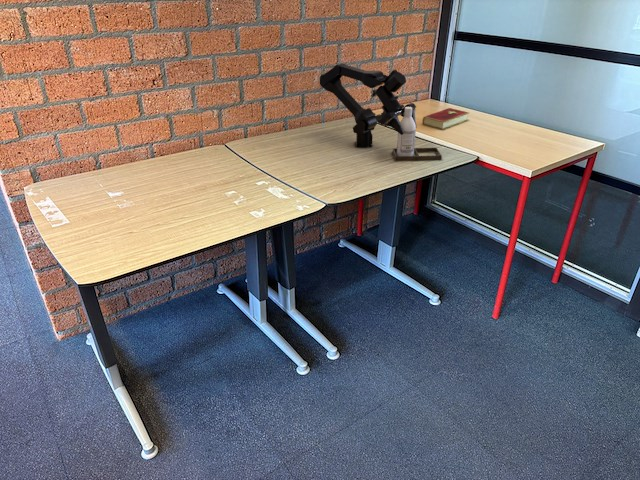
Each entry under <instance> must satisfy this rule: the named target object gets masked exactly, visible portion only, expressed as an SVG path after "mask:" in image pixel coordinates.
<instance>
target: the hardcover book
mask: <svg viewBox="0 0 640 480" xmlns="http://www.w3.org/2000/svg"><path fill="white" fill-rule="evenodd" d="M469 114H470V112H469V111H465V110H460V109H456V108H452V107H448V108H445V109H442V110H440V111H437V112H433V113H430V114H427V115H425V116H424V115H423V117H422V125H423V126H426V127H430V128H434V129H437V130H438V129H439V130H440V131H441V130H442V131H443V130H447V129H450V128H452V127H455V126H457V125H460V124H463V123H466V122H468V121H469V119H468V117H469Z"/></svg>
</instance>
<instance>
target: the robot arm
mask: <svg viewBox="0 0 640 480" xmlns="http://www.w3.org/2000/svg"><path fill="white" fill-rule="evenodd" d="M343 77H346V78H349V79H352V80H355V81H359V82H361V83H362V85H364V86H365V87H367V88H369V89H373V90H372V94H371V97H372V98H375V97H377V98H378V99H379V101H380V102H381V104H382V106H381V110H382V112H381V113H380V114H376V113H375V112H373V110H372V109H371V108H370V107H368V108H363V107H362V106H361V105H360V104H359V102H358V101H357V100H356V99H355V98H354V97H353V95H351V93H350V92H349V91H347V89H346V88H345V87H344V86H343V85H342V80H341V78H343ZM406 83H407V78H406V76H405V75H404V74H403V73H401V72H400V71H398V70H397V69H393V70H391V72H390V74H388V75H386V74H384V72H382V71H381V70H365V69H361V68H358V67H355V66H351V65H348V64H346V63H343V62H342V63H339V64H335V66H332V68H331V69H330V70H328V71H326V72H325V73H323V74H321V75H320V76H319V86H320V87H321V88H323V89H324V90H325V91H327V92H328V93H331V94H333V95H334V96H335V97H336V98H337V99H338V100H339V101H340V102H341V103H342V105H344V107H345V108H346V109H347V110H348V111H349V112H350V113H351V114H352V116H353V118H354V122H355V125H354V126H352V131H353V133H354V134H356V135H355V146H356V148H371V147H372V146H373V137H374V136H373V133H372V131H374V130H375V127H376V126H377V124H379V125H380V126H382V127H383V126H384V127H390V128H392V129H393V130H394V131H396V132H397V134H398V133H400V134H401V135H403V134H404V132H403V129H402V127H401V124H400V122H401V120H400V119H399V116H401V117H402V119H403V118H404V112H405V107H412V118H413V120H414V122H415V125H416V129H417V121H416V108H417V106H416V104H415V103H414V102H410V103H407V104H405V105H404V104H401V103H400V102H399V100H398V99H399V96H398V95H395V94H394V93H397V92H398V91H399V90H400V89H401V88H402V87H403V86H404V85H405V84H406ZM374 88H375V89H374Z"/></svg>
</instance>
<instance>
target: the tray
mask: <svg viewBox="0 0 640 480" xmlns="http://www.w3.org/2000/svg"><path fill="white" fill-rule="evenodd" d="M419 153H435V154H436V155H420V154H419ZM392 155H393V157H394V160H395V162H406V161H407V162H408V161H409V162H411V161H412V162H413V161H415V162H416V161H441V160H442V157H443V156H442V154H441V152H440V151H439V149H438V147H414V155H413V156H397V148H392Z"/></svg>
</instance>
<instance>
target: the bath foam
mask: <svg viewBox="0 0 640 480" xmlns="http://www.w3.org/2000/svg"><path fill="white" fill-rule="evenodd" d="M404 107H405V106H404ZM400 124H401V127H402V129H403V132H404V134H403V135H401V134H400V133H398V132H397V142H396V143H397V144H396V149H397V156H413V155H414V148H415V143H416V133H417V132H416V131H417V128H416V127H417V124H416V125H415V122H414V120H413V118H412V107H405V112H404V118H403V117H402V119H400Z"/></svg>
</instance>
